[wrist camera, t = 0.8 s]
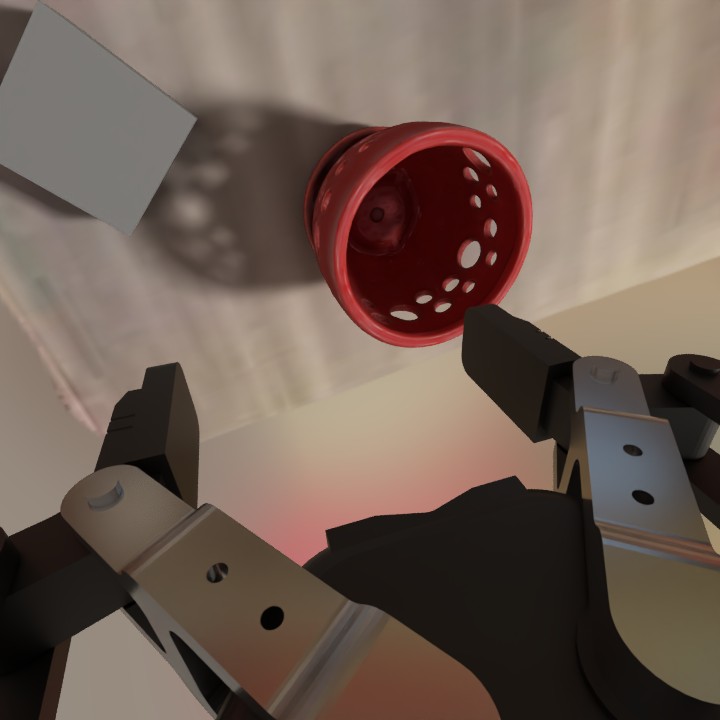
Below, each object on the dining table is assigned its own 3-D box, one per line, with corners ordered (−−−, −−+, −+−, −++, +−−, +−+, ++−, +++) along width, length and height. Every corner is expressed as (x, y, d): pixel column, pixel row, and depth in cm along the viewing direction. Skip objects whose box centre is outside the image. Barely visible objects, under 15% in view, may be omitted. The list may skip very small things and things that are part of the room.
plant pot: (274, 267, 35) (300, 330, 25) (324, 87, 30) (382, 77, 20) (411, 303, 40) (478, 367, 30) (473, 156, 35) (577, 174, 25)
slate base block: (66, 18, 25) (38, -1, 21) (198, 117, 29) (196, 119, 25) (9, 142, 27) (-28, 148, 22) (140, 219, 31) (130, 236, 27)
